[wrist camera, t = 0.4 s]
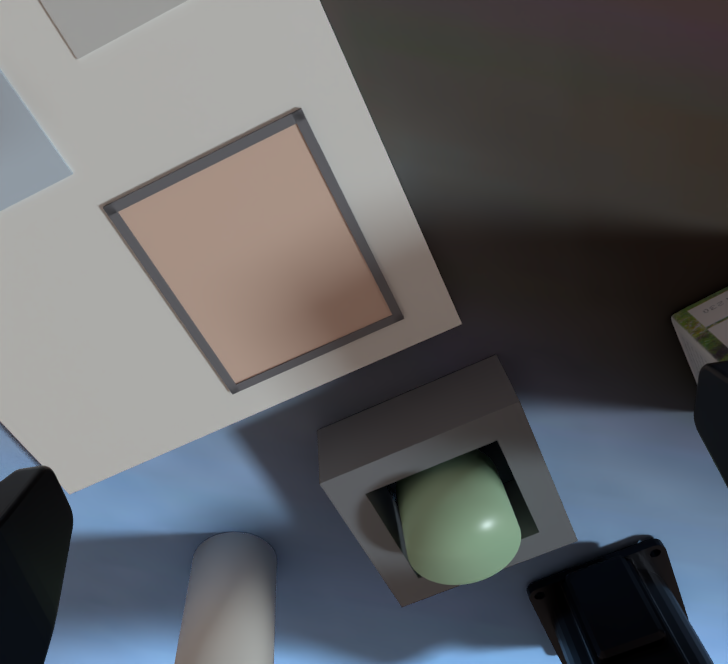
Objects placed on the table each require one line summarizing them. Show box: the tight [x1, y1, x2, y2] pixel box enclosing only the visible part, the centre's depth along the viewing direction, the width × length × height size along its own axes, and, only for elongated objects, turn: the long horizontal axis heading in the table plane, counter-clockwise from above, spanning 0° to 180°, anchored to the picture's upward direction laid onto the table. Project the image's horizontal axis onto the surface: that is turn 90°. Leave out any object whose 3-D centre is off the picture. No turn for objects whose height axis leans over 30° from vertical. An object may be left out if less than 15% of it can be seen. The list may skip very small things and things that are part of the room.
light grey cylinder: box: [175, 532, 277, 664], centre depth 26 cm, size 4×4×8 cm
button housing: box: [317, 355, 578, 607], centre depth 26 cm, size 7×7×3 cm
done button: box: [396, 449, 521, 585], centre depth 25 cm, size 4×4×3 cm
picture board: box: [0, 0, 462, 494], centre depth 20 cm, size 20×16×1 cm
